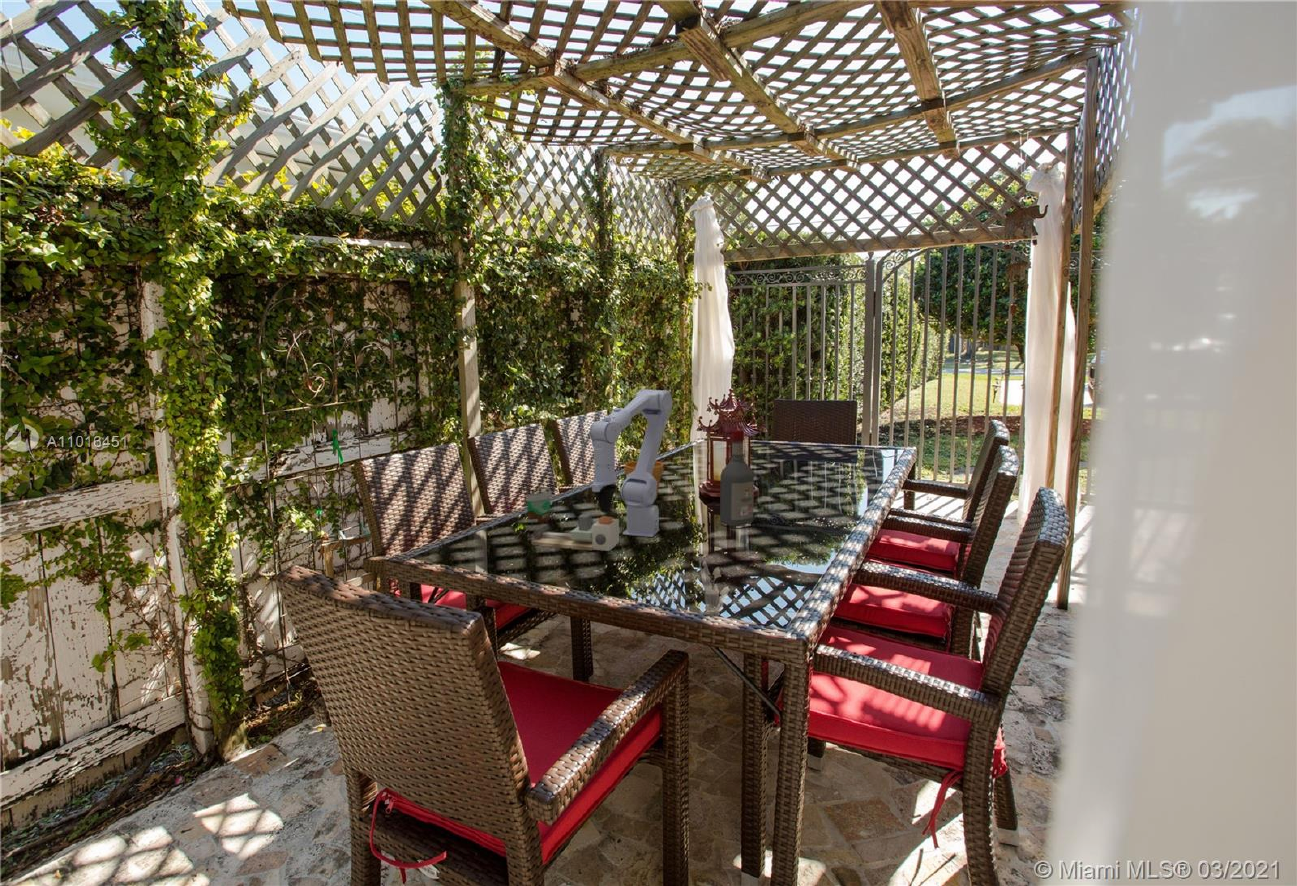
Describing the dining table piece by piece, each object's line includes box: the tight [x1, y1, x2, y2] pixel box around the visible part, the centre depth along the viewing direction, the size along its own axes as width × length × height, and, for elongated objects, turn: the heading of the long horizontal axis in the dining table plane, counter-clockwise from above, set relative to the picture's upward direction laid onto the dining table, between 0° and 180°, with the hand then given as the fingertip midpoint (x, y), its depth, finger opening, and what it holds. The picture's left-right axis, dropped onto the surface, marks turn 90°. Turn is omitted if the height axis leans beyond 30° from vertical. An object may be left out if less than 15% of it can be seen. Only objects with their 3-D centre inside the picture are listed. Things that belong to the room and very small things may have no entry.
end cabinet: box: [591, 518, 620, 552], centre depth 189 cm, size 5×8×7 cm, turn 163°
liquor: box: [719, 429, 755, 526], centre depth 209 cm, size 9×9×30 cm
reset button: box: [598, 515, 613, 524], centre depth 189 cm, size 3×3×2 cm
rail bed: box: [530, 523, 593, 551], centre depth 193 cm, size 19×10×4 cm, turn 73°
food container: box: [525, 486, 553, 524], centre depth 216 cm, size 12×6×10 cm, turn 168°
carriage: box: [570, 513, 593, 542], centre depth 191 cm, size 6×7×7 cm
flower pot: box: [624, 460, 664, 500], centre depth 244 cm, size 14×14×13 cm
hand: (605, 511), depth 189 cm, fingers closed
